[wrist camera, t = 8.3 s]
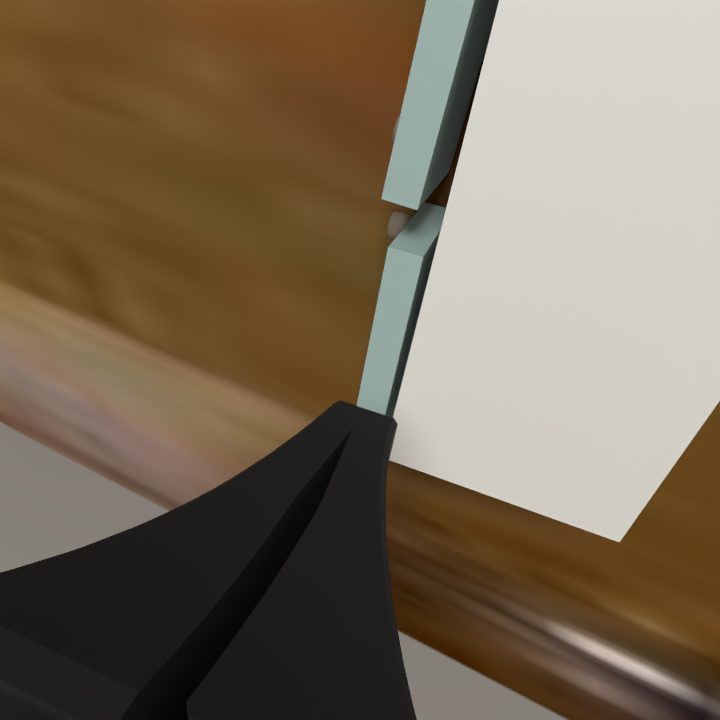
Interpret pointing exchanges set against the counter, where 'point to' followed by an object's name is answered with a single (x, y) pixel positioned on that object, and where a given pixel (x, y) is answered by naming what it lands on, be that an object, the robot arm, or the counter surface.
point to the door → (437, 97)
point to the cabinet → (565, 267)
